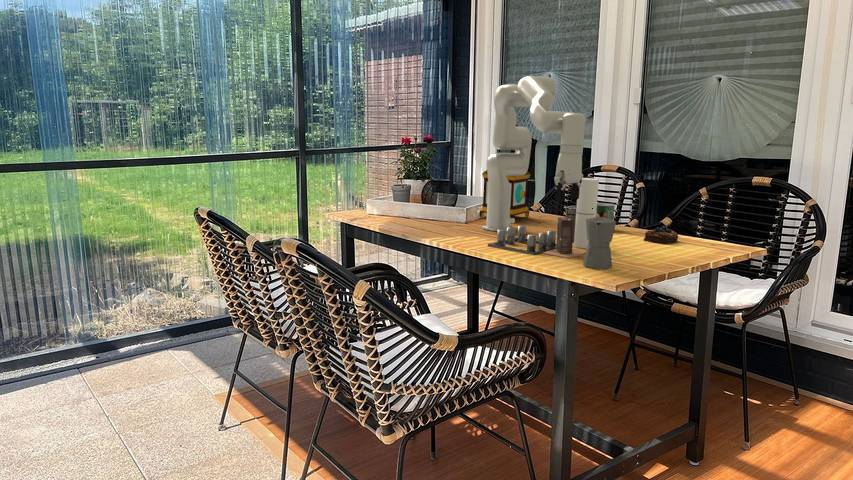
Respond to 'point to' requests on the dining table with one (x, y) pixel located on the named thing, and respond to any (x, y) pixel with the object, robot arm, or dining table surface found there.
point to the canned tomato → (605, 210)
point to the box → (564, 235)
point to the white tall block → (585, 210)
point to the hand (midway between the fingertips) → (567, 200)
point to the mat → (556, 253)
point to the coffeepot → (599, 242)
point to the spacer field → (543, 242)
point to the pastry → (661, 236)
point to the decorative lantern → (517, 194)
